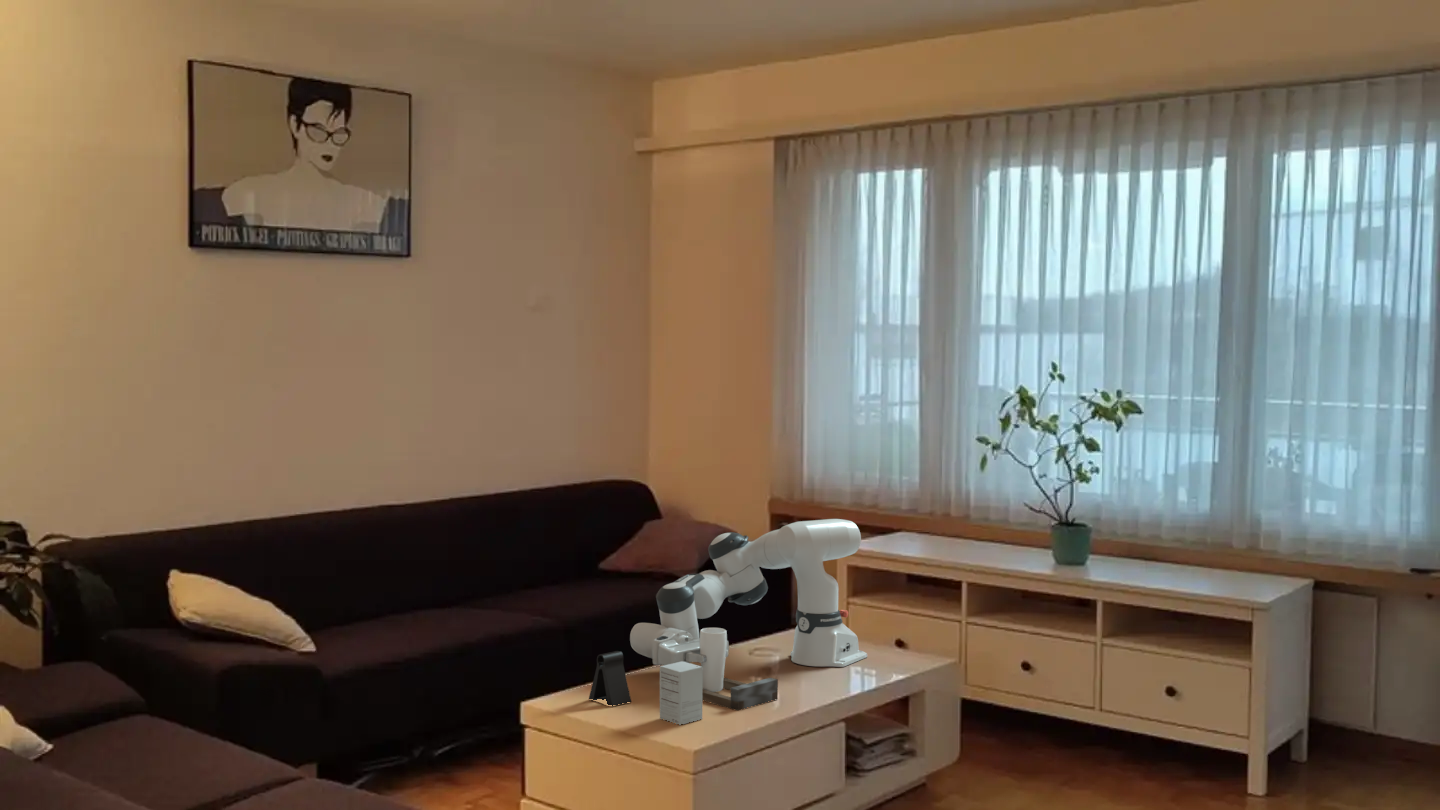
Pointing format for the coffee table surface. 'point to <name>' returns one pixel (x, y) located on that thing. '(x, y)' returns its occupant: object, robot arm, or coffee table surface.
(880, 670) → the coffee table surface
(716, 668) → the drinking glass
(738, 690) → the guide track
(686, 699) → the supplement box
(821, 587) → the robot arm
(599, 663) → the phone stand
